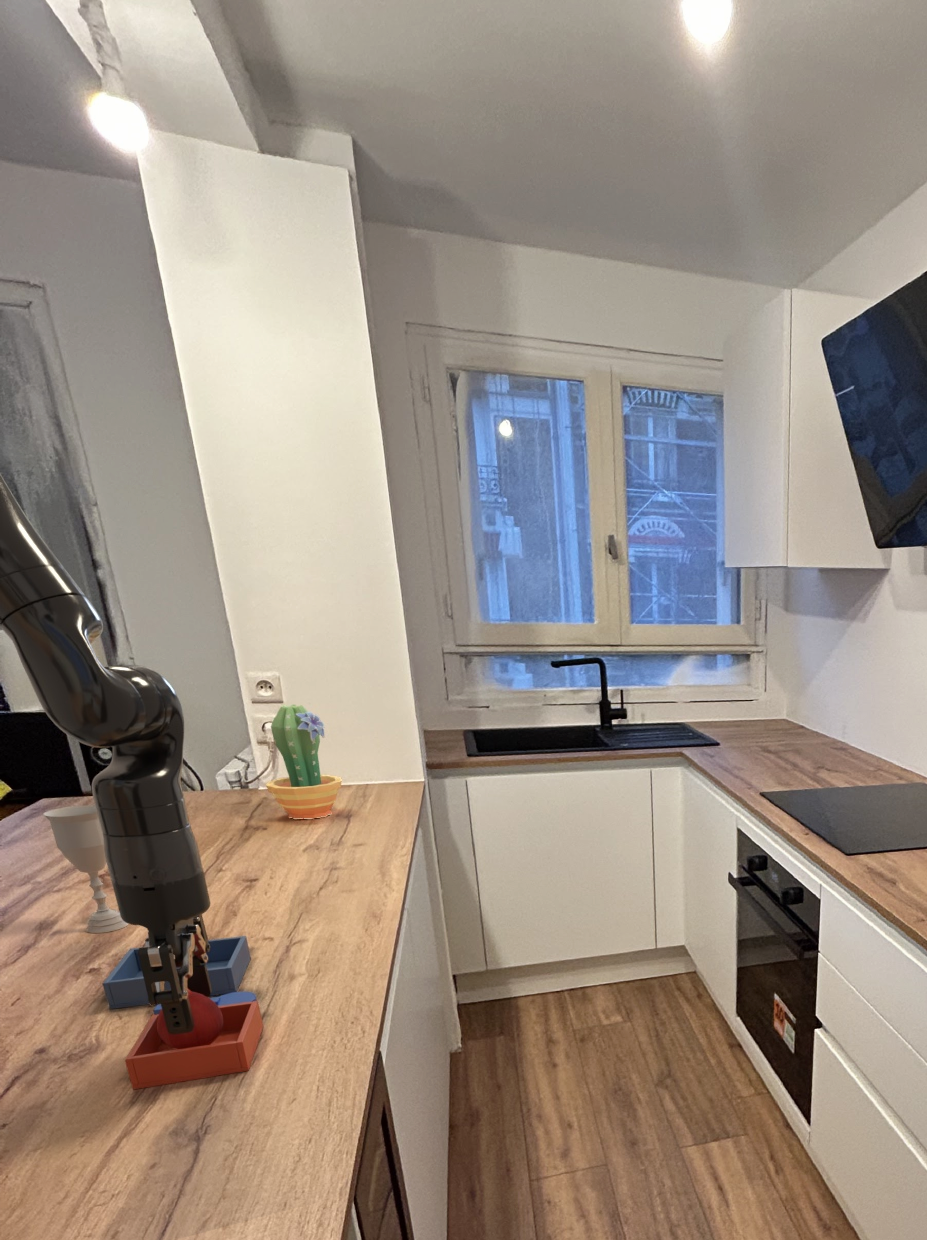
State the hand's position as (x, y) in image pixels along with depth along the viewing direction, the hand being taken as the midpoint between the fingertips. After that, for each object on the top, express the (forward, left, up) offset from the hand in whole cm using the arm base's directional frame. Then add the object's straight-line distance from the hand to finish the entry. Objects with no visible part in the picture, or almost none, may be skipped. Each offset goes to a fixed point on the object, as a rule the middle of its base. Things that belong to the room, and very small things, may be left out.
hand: (191, 1013), depth 87 cm
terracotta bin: (0, 0, -5) cm, 5 cm away
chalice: (-21, +48, -6) cm, 53 cm away
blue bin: (-6, +22, -5) cm, 23 cm away
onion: (0, 0, -5) cm, 5 cm away
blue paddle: (-2, +11, -5) cm, 12 cm away
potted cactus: (0, +114, -6) cm, 114 cm away
